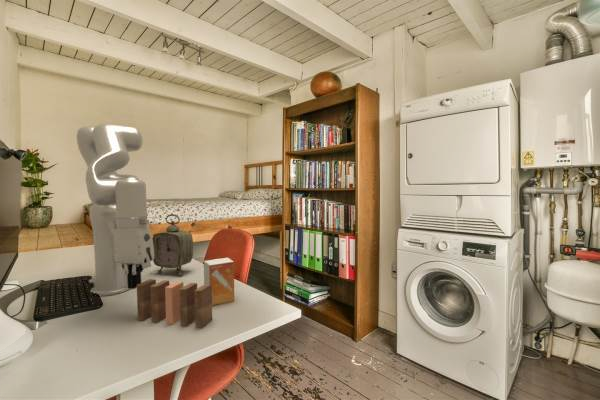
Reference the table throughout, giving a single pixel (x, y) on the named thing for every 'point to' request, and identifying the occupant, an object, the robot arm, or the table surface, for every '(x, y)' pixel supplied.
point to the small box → (220, 279)
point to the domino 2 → (158, 301)
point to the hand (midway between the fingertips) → (134, 287)
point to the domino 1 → (144, 299)
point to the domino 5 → (203, 305)
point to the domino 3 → (173, 302)
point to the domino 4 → (187, 304)
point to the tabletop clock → (172, 247)
